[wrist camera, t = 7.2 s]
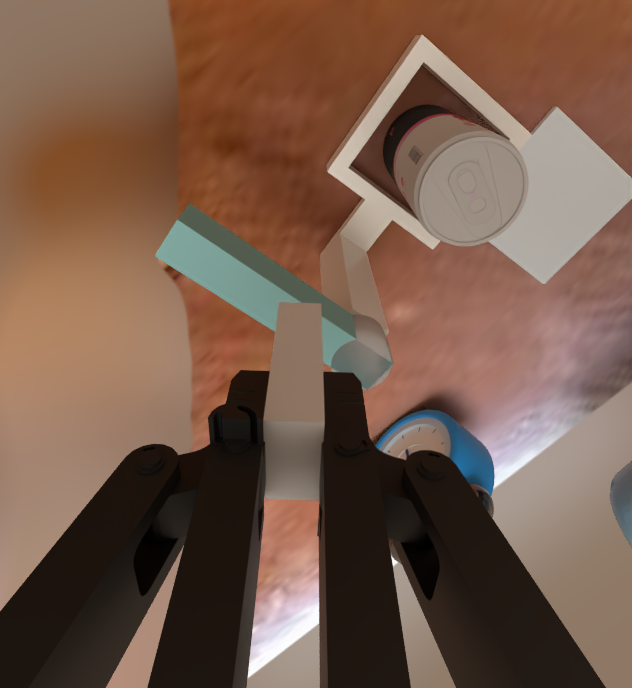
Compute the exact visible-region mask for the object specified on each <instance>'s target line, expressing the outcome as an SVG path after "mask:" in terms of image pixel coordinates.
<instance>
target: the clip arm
mask: <svg viewBox="0 0 632 688" xmlns="http://www.w3.org/2000/svg"><path fill="white" fill-rule="evenodd" d="M155 257H157V258H159V259H160V260H162V261H163V262H165V263H167V264H168V265H170V266H171V267H173V268H174V269H176V270H178V271H179V272H181V273H182V274H184V275H186V276H187V277H189V278H190V279H192V280H193V281H195V282H197V283H198V284H200V285H201V286H203V287H205V288H206V289H208V290H209V291H211V292H212V293H214V294H216V295H217V296H219V297H220V298H222V299H224V300H225V301H227V302H228V303H230V304H232V305H233V306H235V307H236V308H238V309H239V310H241V311H243V312H244V313H246V314H247V315H249V316H251V317H252V318H254V319H255V320H257V321H258V322H260V323H262V324H263V325H265V326H266V327H268V328H270V329H271V330H273V331H274V332H275V330H276V322H277V315H278V307H279V302H289V303H319V304H321V314H322V348H323V363H325V364H327V365H328V366H330V367H331V370H332V372H349V373H354V374H355V375H356V377H357V378H358V379H359V380H360V381H361V384H362V389H366V390H368V389H369V388H372V387H374V386H376V385H378V384H379V383H381V382H382V381H383V380H384V379H385V378H386V377H387V376H388V374H389V372H390V369H391V366H392V365H393V360H392V356H391V353H390V349H389V345H388V341H387V338H386V337H385V333H384V330H383V328H382V326H381V325H380V324H379V323H378V322H377V321H376V320H375V319H373V318H371V317H369V316H366V315H352V314H350V313H349V312H347V311H346V310H344V309H343V308H342V307H340V306H339V305H337V304H336V303H334V302H333V301H331V300H330V299H328V298H327V297H325V296H324V295H323V294H321V293H320V292H318V291H317V290H315V289H314V288H312V287H311V286H309V285H308V284H307V283H305V282H304V281H302V280H301V279H299V278H298V277H296V276H295V275H293V274H292V273H290V272H289V271H288V270H286V269H285V268H283V267H282V266H280V265H279V264H277V263H276V262H274V261H273V260H272V259H270V258H269V257H267V256H266V255H264V254H263V253H261V252H260V251H258V250H257V249H255V248H254V247H253V246H251V245H250V244H248V243H247V242H245V241H244V240H242V239H241V238H239V237H238V236H237V235H235V234H234V233H232V232H231V231H229V230H228V229H226V228H225V227H223V226H222V225H220V224H219V223H218V222H216V221H215V220H213V219H212V218H210V217H209V216H207V215H206V214H204V213H203V212H202V211H200V210H199V209H197V208H196V207H194V206H193V205H191V204H190V203H189V205H188V206H187V207H186V209H185V210H184V211H183V213H182V214H181V215H180V217H179V218H178V219H177V221H176V223H175V224H174V226H173V227H172V229H171V231H170V232H169V234H168V235H167V237H166V239H165V240H164V242H163V243H162V245H161V247H160V248H159V250H158V251H157V253H156V255H155Z"/></svg>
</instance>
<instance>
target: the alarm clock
mask: <svg viewBox="0 0 632 688" xmlns="http://www.w3.org/2000/svg"><path fill="white" fill-rule="evenodd" d="M375 447H376V448H378V449H379V450H380V451H382V452H384V453H385V454H388V455H391V456H393V457H397V458H401V459H404V460H406V458H407V457H408V456H409V455H410V454H411V453H413V452H416V451H420V450H432V451H435V452H439V453H442V454H444V455H445V456H447V457H449V458H450V459H451V460H452V461H453V462H454V463H455V464H456V465H457V467H458V468H459V469H460V471H461V472H462V474H463V475H464V477H465V478H466V480H467V481H468V483H469V484H470V486H471V487H472V489H473V490H474V492H475V493H476V495H477V496H478V498H479V499H480V501H481V502H482V504H483V505H484V507H485V508H486V510H487V511H488V513H489V514H490V516H491V517H492V518H493V514H494V506H493V501H492V498H491V495H492V491H493V486H494V466H493V461H492V458H491V456H490V454H489V452H488V450H487V449H486V447H485V446H484V445H483V444H482V443H481V442H480V441H479V440H478V439H477V438H475V437H474V436H473V435H472V434H471V433H470V432H468V431H467V430H466V429H465V428H464V427H463V426H461V425H460V424H459V423H458V422H457V421H455V420H454V419H453V418H452V417H451V416H449V415H448V414H446V413H444V412H442V411H438V410H425V407H424V406H423V407H422V409H421V411H417V412H414V413H412V414H409V415H407V416H405V417H404V418H402V419H401V420H399V421H398V422H396V423H395V424H394V425H393V426H392V427H390V428H389V429H388V430H387V431H386V432H385V433H384V435H383V436H382V437H381V438H380V439H379V440H378V441H377V443H376V445H375ZM388 539H389V545H390V552H391V556H392V557H393V558H394V559H395V560H396V561H398V562H399V563H401V561H400V559H399V556H398V554H397V552H396V549H395V547H394V545H393V540H392V539H390V538H388ZM401 564H402V563H401Z"/></svg>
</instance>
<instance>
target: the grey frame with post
mask: <svg viewBox="0 0 632 688" xmlns="http://www.w3.org/2000/svg"><path fill="white" fill-rule="evenodd" d="M421 65H422V66H423V67H425V68H426V69H427V70H428V71H429V72H430V73H431V74H433V75H434V76H435V77H436V78H437V79H438V80H439V81H440V82H442V83H443V84H444V85H445V86H446V87H447V88H448V89H449V90H451V91H452V92H453V93H454V94H455V95H456V96H457V97H458V98H460V99H461V100H462V101H463V102H464V103H465V104H466V105H467V106H469V107H470V108H471V109H472V110H473V111H474V112H475V113H477V114H478V115H479V116H480V117H481V118H482V119H483V120H484V121H486V122H487V123H488V124H489V125H490V126H491V127H492V128H493V129H495V130H496V131H497V132H498V133H499V135H500V136H502V137H504V138H506V139H507V140H509V141H510V142H511V143H512V144H513V145H514V146H515V147H516V148H517V149H518V151H519V150H520V149H521V148H522V147H523V145H524V144H525V143H526V142H527V141H528V140H529V139H530V137H531V136H532V134H531V133H530V132H529V131H528V130H526V129H525V128H524V127H523V126H522V125H521V124H520V123H519V122H518V121H517V120H515V119H514V118H513V117H512V116H511V115H510V114H509V113H508V112H507V111H506V110H504V109H503V108H502V107H501V106H500V105H499V104H498V103H497V102H496V101H495V100H494V99H492V98H491V97H490V96H489V95H488V94H487V93H486V92H485V91H484V90H483V89H481V88H480V87H479V86H478V85H477V84H476V83H475V82H474V81H473V80H472V79H470V78H469V77H468V76H467V75H466V74H465V73H464V72H463V71H462V70H461V69H460V68H458V67H457V66H456V65H455V64H454V63H453V62H452V61H451V60H450V59H449V58H447V57H446V56H445V55H444V54H443V53H442V52H441V51H440V50H439V49H438V48H436V47H435V46H434V45H433V44H432V43H431V42H430V41H429V40H428V39H427V38H426V37H424V36H423V35H416V36H415V37H414V39H413V40H412V41H411V43H410V44H409V46H408V47H407V49H406V50H405V52H404V53H403V54H402V56H401V57H400V59H399V60H398V62H397V63H396V65H395V66H394V67H393V69H392V70H391V72H390V73H389V75H388V76H387V78H386V79H385V81H384V82H383V83H382V85H381V86H380V88H379V89H378V91H377V92H376V94H375V95H374V96H373V98H372V99H371V101H370V102H369V104H368V105H367V107H366V108H365V109H364V111H363V112H362V114H361V115H360V117H359V118H358V120H357V121H356V122H355V124H354V125H353V127H352V128H351V130H350V131H349V133H348V134H347V136H346V137H345V138H344V140H343V141H342V143H341V144H340V146H339V147H338V149H337V150H336V151H335V153H334V154H333V156H332V157H331V159H330V160H329V162H328V163H327V164H326V168H327V172H328V173H330V174H331V175H332V176H334V177H335V178H337V179H338V180H339V181H341V182H342V183H343V184H345V185H346V186H347V187H349V188H350V189H351V190H353V191H354V192H355V193H357V194H358V195H360V196H361V197H362V199H361V200H360V202H359V203H358V204H357V206H356V207H355V208H354V210H353V211H352V212H351V214H350V215H349V216H348V218H347V219H346V220H345V222H344V223H343V224H342V226H341V227H340V228H339V230H338V231H337V232H336V234H335V235H334V236H333V238H332V239H331V240H330V242H329V243H328V244H327V246H326V247H325V248H324V250H323V251H322V252H321V254H320V271H321V289H322V294H323V295H324V296H325V297H327V298H328V299H330V300H331V301H333V302H334V303H336V304H337V305H339V306H340V307H342V308H343V309H344V310H346V311H347V312H349V313H350V314H352V315H366V316H369V317H371V318H373V319H375V320H376V321H377V322H378V323H379V324H380V325H381V326H382V328H383V330H384V333H385V336H386V335H387V334H388V333H389V330H388V327H387V323H386V319H385V316H384V312H383V309H382V305H381V302H380V298H379V295H378V291H377V288H376V284H375V280H374V277H373V273H372V270H371V266H370V263H369V259H368V256H367V251H368V250H369V248H370V247H371V246H372V245H373V243H374V242H375V241H376V240H377V238H378V237H379V236H380V235H381V233H382V232H383V231H384V230H385V228H386V227H387V226H388V225H389V223H390V222H391V221H392V220H393V221H395V222H396V223H397V224H399V225H400V226H401V227H403V228H404V229H405V230H407V231H408V232H410V233H411V234H412V235H414V236H415V237H416V238H418V239H419V240H420V241H422V242H423V243H424V244H426V245H427V246H428V247H430V248H431V249H434V248H435V247H436V246H437V245H438V243H439V242H440V240H438V239H436V238H435V237H433V236H432V235H431V234H429V233H428V232H427V231H426V230H425V228H424V227H423V226H422V224H421V223H420V221H419V220H418V218H417V217H416V215H415V213H413V212H412V211H411V210H409V209H408V208H407V207H405V206H404V205H403V204H402V203H400V202H399V201H398V200H396V199H395V198H394V197H392V196H391V195H390V194H388V193H387V192H386V191H384V190H383V189H382V188H380V187H379V186H378V185H376V184H375V183H374V182H373V181H371V180H370V179H369V178H367V177H366V176H365V175H363V174H362V173H361V172H359V171H358V170H357V169H355V168H354V167H353V166H351V165H350V164H351V163H352V162H353V160H354V159H355V157H356V156H357V155H358V153H359V152H360V150H361V149H362V148H363V146H364V145H365V143H366V142H367V141H368V139H369V138H370V136H371V135H372V134H373V132H374V131H375V129H376V128H377V127H378V125H379V124H380V122H381V121H382V120H383V118H384V117H385V115H386V114H387V113H388V111H389V110H390V108H391V107H392V106H393V104H394V103H395V101H396V100H397V99H398V97H399V96H400V95H401V93H402V92H403V90H404V89H405V88H406V86H407V85H408V83H409V82H410V81H411V79H412V78H413V76H414V75H415V74H416V72H417V71H418V69H419V68H420V67H421Z"/></svg>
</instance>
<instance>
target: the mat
mask: <svg viewBox="0 0 632 688" xmlns="http://www.w3.org/2000/svg"><path fill="white" fill-rule="evenodd" d="M531 134H532V136H531V137H530V139H529V140H528V141H527V142H526V143H525V144H524V145H523V147H522V148H521V149H520V150H519V152H520V154H521V156H522V158H523V161H524V163H525V165H526V168H527V172H528V181H529V182H528V193H527V197H526V201H525V203H524V206H523V208H522V210H521V212H520V214H519V215H518V217H517V218H516V220H515V221H514V222H513V223H512V224H511V226H510V227H509V228H508V229H506V230H505V231H504V232H503V233H502V234H500V235H499V236H497V237H496V238H494V239H492V240H490V241H489V242H490V243H491V244H492V245H494V246H495V247H496V248H498V249H499V250H500V251H501V252H503V253H504V254H505V255H506V256H508V257H509V258H510V259H512V260H513V261H514V262H515V263H517V264H518V265H519V266H520V267H522V268H523V269H524V270H526V271H527V272H528V273H529V274H531V275H532V276H533V277H535V278H536V279H537V280H538V281H540V282H541V283H542V284H543V285H544V284H545V283H546V282H547V281H548V280H549V279H550V278H551V277H552V276H553V275H554V274H555V273H556V272H557V271H558V270H559V269H560V268H561V267H562V266H563V265H564V264H565V263H566V262H567V261H569V260H570V259H571V258H572V257H573V256H574V255H575V254H576V253H577V252H578V251H579V250H580V249H581V248H582V247H583V246H584V245H585V244H586V243H587V242H588V241H589V240H590V239H591V238H592V237H593V236H594V235H595V234H596V233H597V232H598V231H599V230H600V229H601V228H602V227H603V226H604V225H605V224H606V223H607V222H608V221H609V220H610V219H611V218H613V217H614V216H615V215H616V214H617V213H618V212H619V211H620V210H621V209H622V208H623V207H624V206H625V205H626V204H627V203H628V202H629V201H630V200H631V199H632V178H631V177H630V176H629V175H628V174H627V173H626V172H625V171H624V170H623V169H622V168H621V167H620V166H619V165H617V164H616V163H615V162H614V161H613V160H612V159H611V158H610V157H609V156H608V155H607V154H606V153H605V152H604V151H603V150H602V149H601V148H600V147H599V146H598V145H597V144H596V143H595V142H594V141H592V140H591V139H590V138H589V137H588V136H587V135H586V134H585V133H584V132H583V131H582V130H581V129H580V128H579V127H578V126H577V125H576V124H575V123H574V122H573V121H572V120H571V119H570V118H568V117H567V116H566V115H565V114H564V113H563V112H562V111H561V110H560V109H559V108H558V107H557V106H553V107H552V108H551V110H550V111H549V112H548V113H547V114H546V115H545V117H544V118H543V119H542V120H541V121H540V122H539V123H538V125H537V126H536V127H535V128H534V129H533V130H532V132H531Z"/></svg>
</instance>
